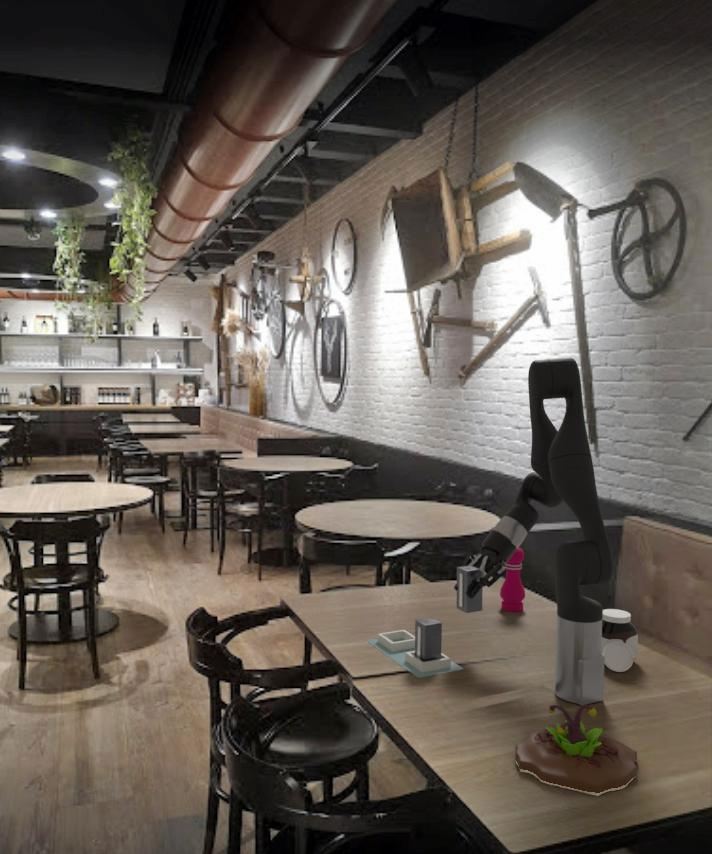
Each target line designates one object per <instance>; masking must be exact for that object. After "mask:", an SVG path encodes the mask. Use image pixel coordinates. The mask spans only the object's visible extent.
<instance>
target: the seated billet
mask: <svg viewBox="0 0 712 854" xmlns="http://www.w3.org/2000/svg"><path fill="white" fill-rule="evenodd" d="M414 621H415V623H414V624H415V625H414V630H415V631H414V632H415V633H414V636H415V657H417V658H418V659H420V660H421V661H423V662H426V661H432V660H438V659H441V653H442V642H443V641H442V638H443V637H442V634H443V633H442V632H443V630H442V629H443V625H442V624H443V622H441V621H439V620H437V619H435V618H434V617H424V618H419V619H415V620H414Z"/></svg>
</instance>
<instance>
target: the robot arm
mask: <svg viewBox="0 0 712 854" xmlns="http://www.w3.org/2000/svg"><path fill="white" fill-rule="evenodd" d="M580 373H581V372H580V368H579V365H578V363H577V361H576V360H575V358H573V357H554V358H542V359H535V360H533V361H532V362H531V363H530V365H529V368H528V378H527V380H528V381H527V383H528V400H529V402H528V403H529V415H530V426H531V453H530V466H531V469H532V472H530V473H529V474H527V475H526V476H525V477H524V479H523V481H522V483H521V485H520V488H519V491H518V493H517V495H516V498H515V500H514V502H513V504H512V505H511V507H510V508H509V509H508V511H507V512H506V514H505V515H504V516H503V517H502V518H501V519H500V520H499V521H498V522H497V523H496V524H495V526H494V527H493V528H492V530H490V532H489V533H488V534H487V536H486V537H485V538H484V540H483V541H482V542H481V547H482V549H481V550H480V551H479V552H477V553H476V554H473V553H472V552H469V553H467V555H466V556H465V559H464V561H463V562H462V564H461V566H460V567H463V566H475V567H478V568H479V569H480V571H479V572H480V574H479V575H478V576H477V578H476V581H474V582H473V583H472V585H471V586H470V587H469V589H468V590H467V591H466V595H467V596H468V597H469V598H471V599H472V598H473V597H474V596H476V594H477V593H478V592H479V590H480V589H481V588H482V589H483V588H485V587H488V588H490V587H492V586H493V585H494V584H495V583H496V582H497V581H499V580H500V578H502V577H503V576H504V575H506V571H507V570H506V568H505V565H503V564H505V563H507V562H508V560H509V559H510V558H511V556H512V555H513V554H514V553H515V551H516V550H517V549H518V547H519V548H520V546H521V545H522V543H523V542H524V540H525V539H526V537H527V535H528V533H530V531H531V530H532V528H533V527H534V526H535V525H536V523H537V522H538V520H539V517H540V514H539V512H538V510H537V509H536V508H535V507H534V506H533V505H531V501H534V502H536V503H538V504H541V505H543V506H544V507H546V508H552V509H554V508H557V507H558V506H560V505H561V503H562V502H563V501H564V503H565V504H566V505H567V507H568V508H569V509H570V510H571V511H572V513H573V514H574V516H575V518H576V520H577V521H578V524H579V525H580V528H581V532H582V536H583V538H584V539H583V540H568V541H562V542H560V543H559V544H558V546H557V548H556V551H555V555H554V556H555V558H554V562H555V563H554V570H555V571H554V574H555V600H556V612H557V613H556V616H557V617H556V641H555V642H556V643H555V644H556V645H555V646H556V647H555V672H554V673H555V678H554V679H555V680H554V681H555V682H554V693H555V695H556V696H557V697H558V698H559V699H561V700H564V701H566V702H569V703H573V704H578V705H579V706H583V705H584V704H585V705H589V704H593V703H598V702H602V701H604V690H605V688H604V687H605V657H604V656H602V655H601V644H602V617H603V610H604V609H603V606H602V604H601V603H600V602H598V601H597V600H595V599H593V598H589V597H587V596H584V595H581V589H580V586H591V585H593V586H594V585H605V584H607V583H609V581H610V580H611V579H612V577H613V571H614V565H613V563H614V562H613V556H612V554H613V553H612V551H611V546H610V543H609V539H608V535H607V531H606V527H605V524H604V523H605V522H604V519H603V515H602V511H601V506H600V501H599V496H598V490H597V486H596V484H597V483H596V478H595V476H596V475H595V469H594V462H593V458H592V452H591V449H590V443H589V437H588V432H587V427H586V421H585V415H584V414H585V413H584V412H585V411H584V402H583V390H582V382H581V375H580ZM552 399H554V400H556V399H565V413H564V416H563V419H562V422H561V425H560V427H559V429H557V428H556V426H555V425H554V424H553V422H552V420H551V418H549V416H548V413H546V409H545V407H544V401H545V400H552ZM482 577H483V578H482ZM453 589H454V590H455V591H456V592H457V582H456V584H455V585H454V588H453Z"/></svg>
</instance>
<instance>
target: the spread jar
mask: <svg viewBox="0 0 712 854" xmlns="http://www.w3.org/2000/svg"><path fill="white" fill-rule="evenodd" d="M631 620H632V615H631V613H630V612H629V611H626V610H621V609H619V608H618V609H617V608H606V609H603V617H602V644H601V655H602V656H604V657H605V664H604V666H606V667H607V668H608V669H609V670H610V671H613V672H617V673H623V672H626V671H628V670H629V669H630V668H631V667H632V665H633V664H634V660H635V659H636V657H637V653H638V642H639V640H638V639H639V633H638V630H637V627H636V626H635V625H634V624H633V623H632V622H631Z"/></svg>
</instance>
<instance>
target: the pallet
mask: <svg viewBox="0 0 712 854" xmlns="http://www.w3.org/2000/svg"><path fill="white" fill-rule="evenodd" d="M365 642H367V643H368V644H370V645H372V647H374V648H376V649H377V650H379V651H380V652H381V653H382V654H384V655H385V656H387V657H389V658H390V659H391V660H393V661H394V662H396V663H397V664H398V665H400V666H401V667H403V668H404V669H405V670H406V671H408V672H410V673H411V674H412V675H413V676H415V677H416V678H418V679H420V678H425V677H430V676H436V675H441V674H442V675H443V674H447V673H451V672H452V673H453V672H458V671H461V670H462V671H463V670H464V668H463V667H462V666H460V665H459V664H457V663H455V662H453V661H452V658H450V657H449V656H447V655H446V654H444V653H442V652H441V659H438V660H432V661H426V662H423V661H421V660H420V659H418V658H417V657H415V634H414V635H413V634H412V633H410V632H409V631H407V630H405V629H400V630H393V631H387V632H382V633H381V632H380V633H377V638H372V639H371V638H370V639H366V640H365Z"/></svg>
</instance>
